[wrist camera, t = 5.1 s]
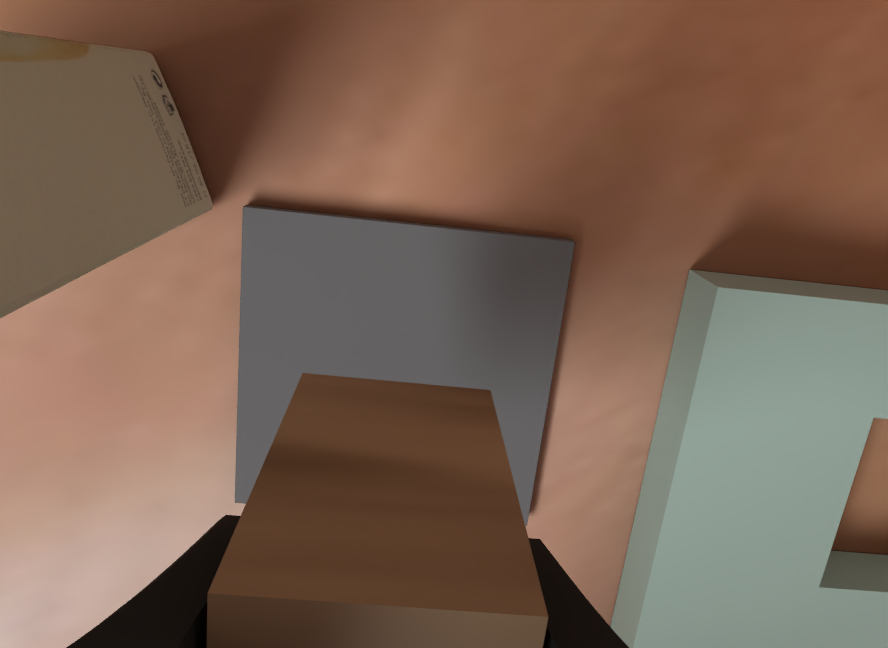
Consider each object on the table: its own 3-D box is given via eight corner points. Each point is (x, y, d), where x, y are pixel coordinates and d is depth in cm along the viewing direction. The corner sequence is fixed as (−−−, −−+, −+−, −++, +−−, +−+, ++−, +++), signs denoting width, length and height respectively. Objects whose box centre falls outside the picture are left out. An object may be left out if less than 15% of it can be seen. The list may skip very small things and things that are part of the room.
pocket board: (966, 733, 26) (1010, 784, 24) (591, 710, 25) (605, 761, 23) (1144, 317, 21) (1216, 338, 19) (689, 269, 20) (718, 287, 18)
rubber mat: (524, 518, 22) (526, 525, 22) (238, 495, 22) (234, 502, 21) (572, 239, 20) (574, 242, 19) (246, 204, 19) (243, 206, 19)
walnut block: (467, 549, 16) (502, 860, 10) (292, 536, 16) (203, 847, 9) (490, 390, 15) (548, 617, 8) (302, 372, 15) (207, 593, 8)
